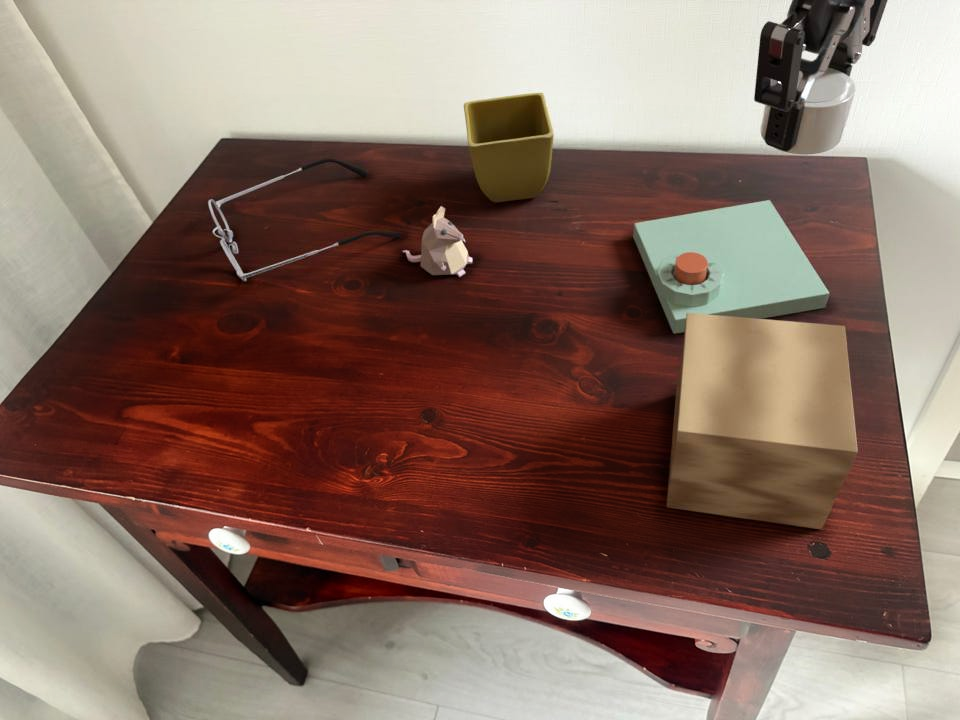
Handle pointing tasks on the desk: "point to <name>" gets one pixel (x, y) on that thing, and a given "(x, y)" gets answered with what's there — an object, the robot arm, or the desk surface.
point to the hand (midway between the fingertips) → (802, 125)
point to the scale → (730, 264)
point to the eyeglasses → (244, 276)
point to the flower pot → (510, 145)
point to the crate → (762, 420)
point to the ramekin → (821, 113)
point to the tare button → (690, 268)
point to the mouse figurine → (442, 248)
